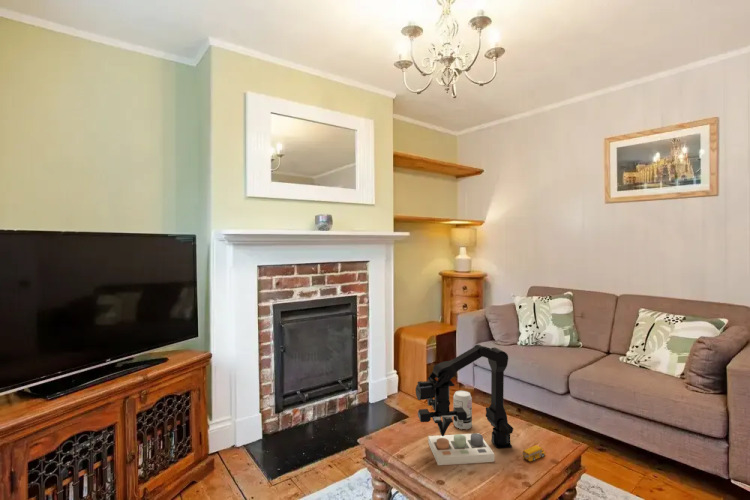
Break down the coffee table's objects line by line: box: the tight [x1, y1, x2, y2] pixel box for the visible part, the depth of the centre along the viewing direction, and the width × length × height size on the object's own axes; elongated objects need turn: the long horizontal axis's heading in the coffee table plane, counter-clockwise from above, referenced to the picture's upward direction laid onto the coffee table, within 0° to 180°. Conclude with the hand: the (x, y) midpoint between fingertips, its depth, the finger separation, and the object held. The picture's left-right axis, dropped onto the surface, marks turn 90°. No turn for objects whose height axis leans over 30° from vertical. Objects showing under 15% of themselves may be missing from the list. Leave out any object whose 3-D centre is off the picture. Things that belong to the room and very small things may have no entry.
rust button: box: [437, 438, 449, 450], centre depth 153 cm, size 5×5×3 cm
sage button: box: [453, 433, 466, 449], centre depth 154 cm, size 5×5×3 cm
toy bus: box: [522, 444, 546, 462], centre depth 150 cm, size 3×10×4 cm, turn 120°
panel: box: [427, 432, 495, 466], centre depth 154 cm, size 22×16×3 cm
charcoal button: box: [470, 432, 484, 448], centre depth 154 cm, size 5×5×3 cm
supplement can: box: [452, 390, 473, 430], centre depth 175 cm, size 8×8×15 cm
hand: (442, 435), depth 153 cm, fingers closed
